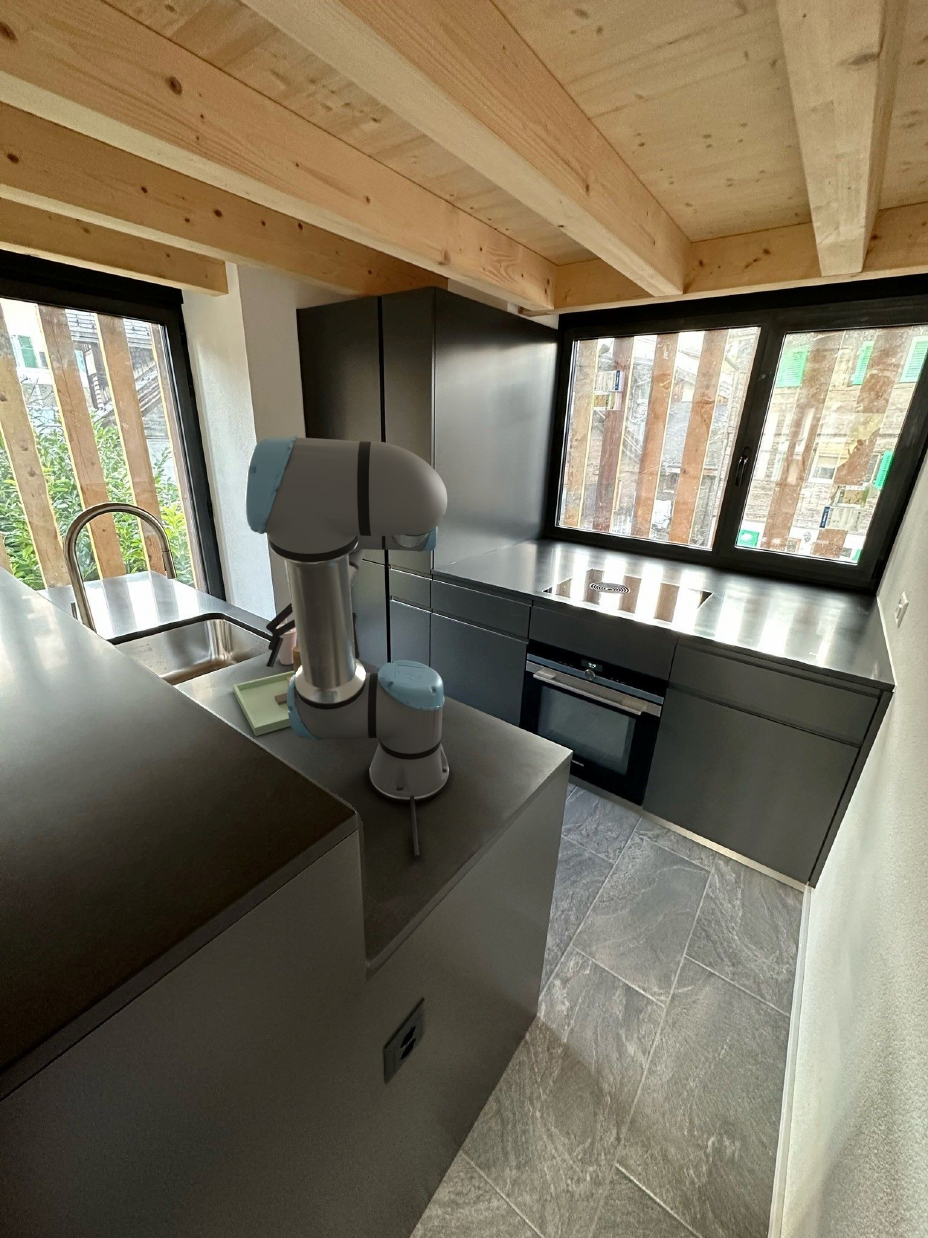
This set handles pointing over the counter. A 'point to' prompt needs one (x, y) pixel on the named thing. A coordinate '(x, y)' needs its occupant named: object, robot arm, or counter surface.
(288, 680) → the brush
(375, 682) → the robot arm
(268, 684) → the tray
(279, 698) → the pad
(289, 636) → the smoothie
